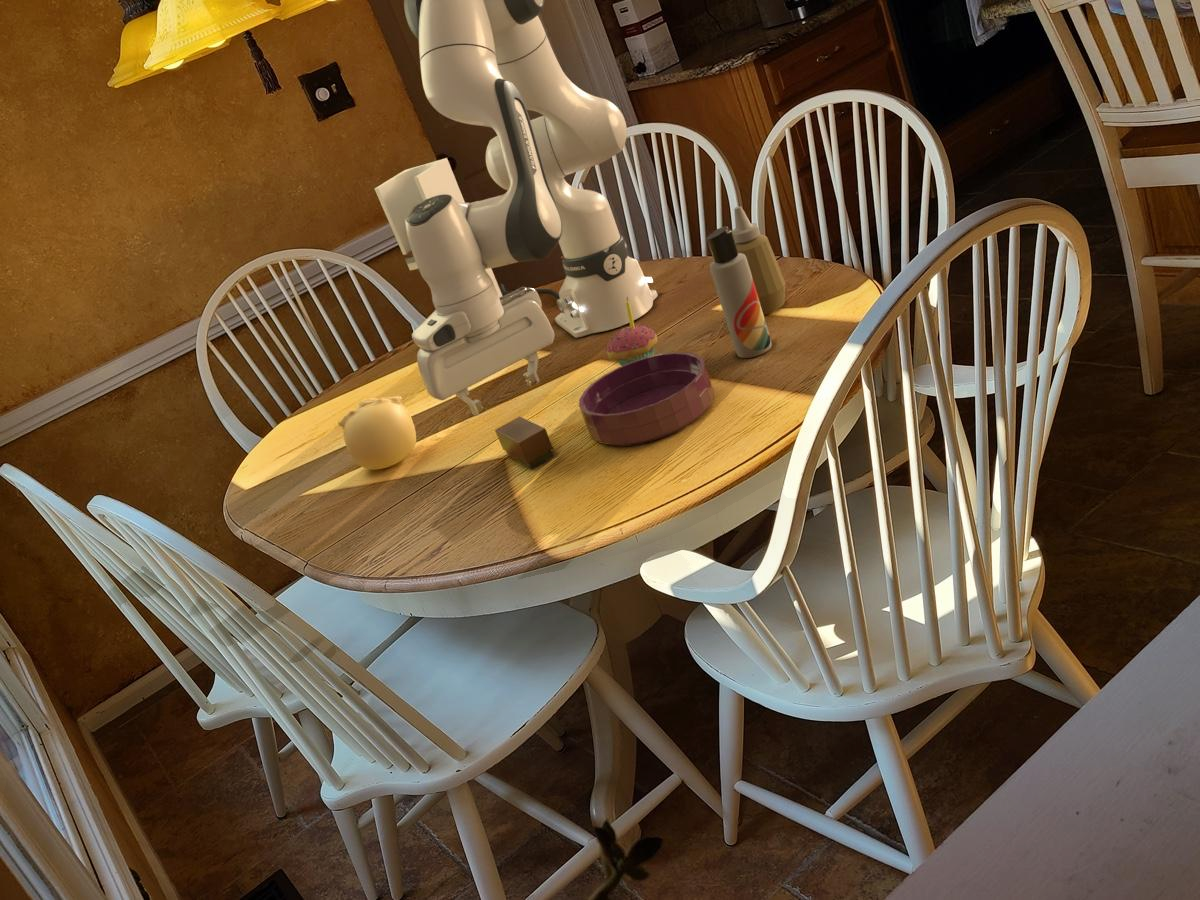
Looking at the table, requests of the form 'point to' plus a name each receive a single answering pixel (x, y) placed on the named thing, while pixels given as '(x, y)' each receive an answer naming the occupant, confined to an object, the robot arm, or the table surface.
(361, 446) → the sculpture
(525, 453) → the dark chocolate square
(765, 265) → the squeeze bottle
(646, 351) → the cupcake
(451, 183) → the cream shelf stand
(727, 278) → the lotion bottle
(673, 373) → the bowl
